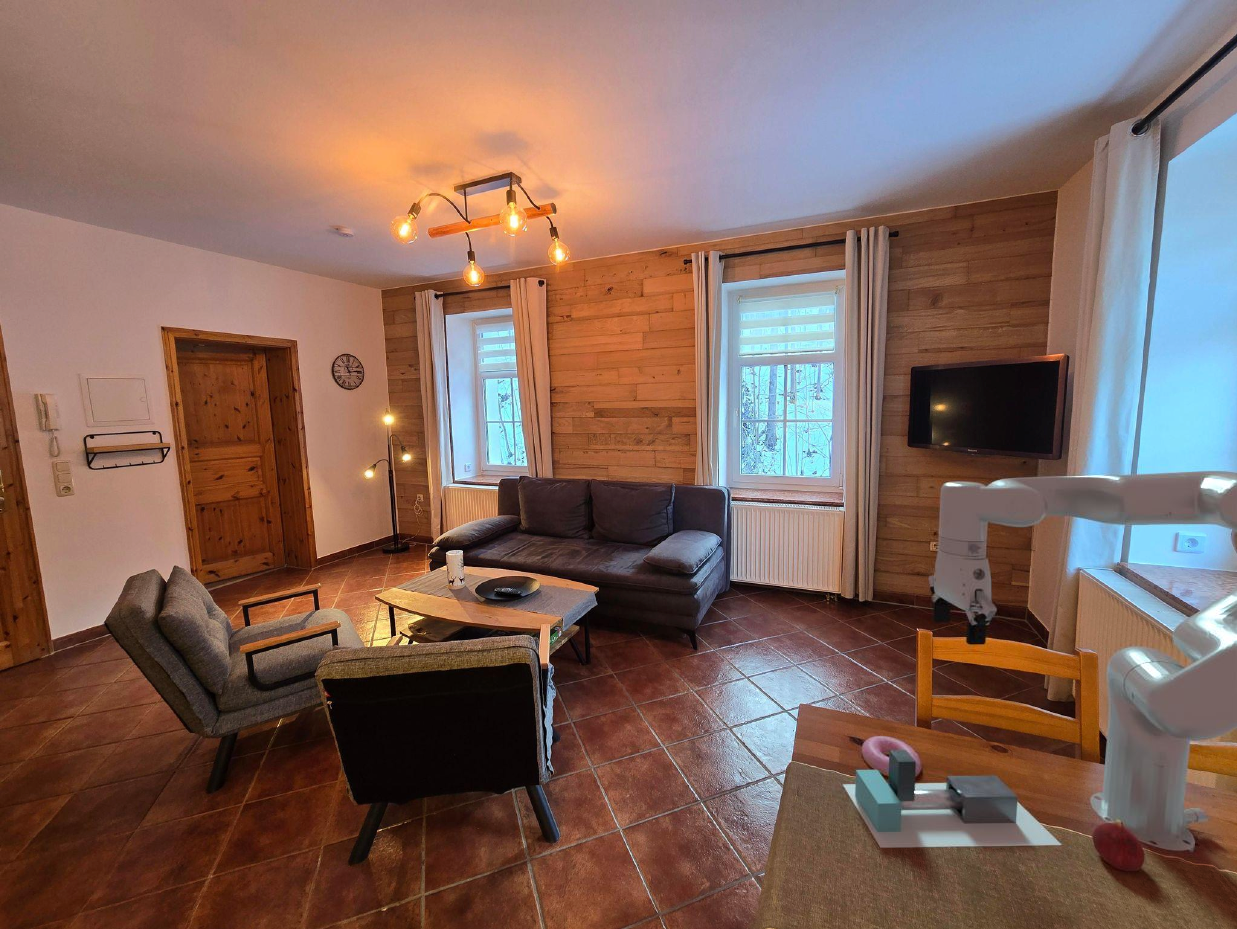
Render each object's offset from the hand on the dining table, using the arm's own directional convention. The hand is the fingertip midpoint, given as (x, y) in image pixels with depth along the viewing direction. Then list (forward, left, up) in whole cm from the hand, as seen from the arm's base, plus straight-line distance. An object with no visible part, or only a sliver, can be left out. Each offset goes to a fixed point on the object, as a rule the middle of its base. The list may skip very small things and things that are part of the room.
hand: (957, 632), depth 95 cm
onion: (-13, +20, -31) cm, 39 cm away
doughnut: (+10, -4, -31) cm, 33 cm away
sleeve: (+2, +10, -29) cm, 31 cm away
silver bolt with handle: (+11, +10, -28) cm, 32 cm away
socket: (+20, +10, -29) cm, 37 cm away
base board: (+8, +10, -30) cm, 33 cm away
